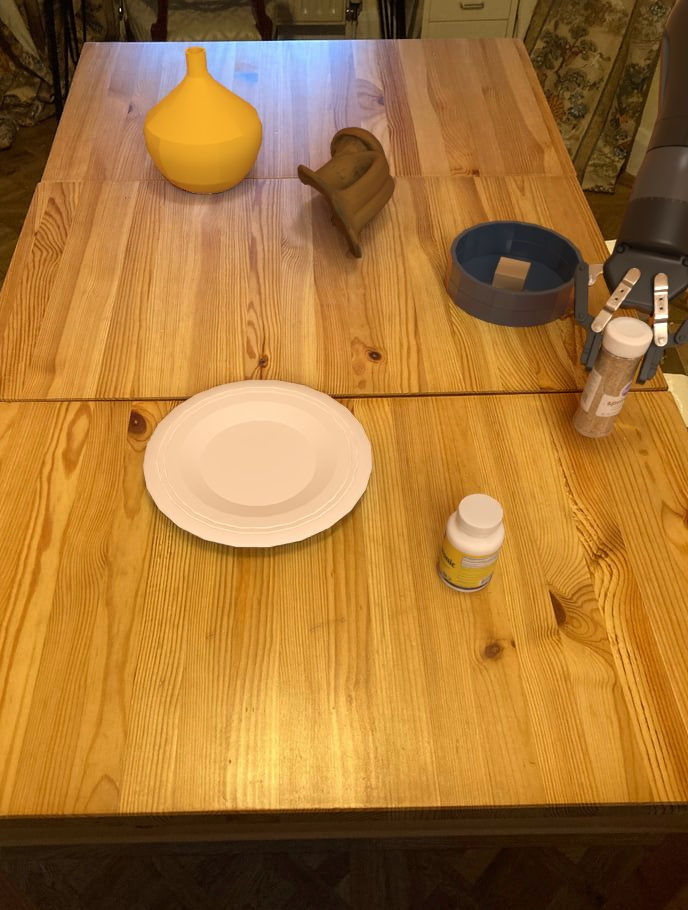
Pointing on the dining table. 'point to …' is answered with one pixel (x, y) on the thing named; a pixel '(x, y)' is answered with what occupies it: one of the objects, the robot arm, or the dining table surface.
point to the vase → (202, 132)
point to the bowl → (519, 241)
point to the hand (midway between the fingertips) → (614, 376)
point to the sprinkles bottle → (611, 375)
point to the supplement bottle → (471, 543)
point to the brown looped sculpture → (353, 182)
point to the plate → (257, 463)
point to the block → (511, 274)
